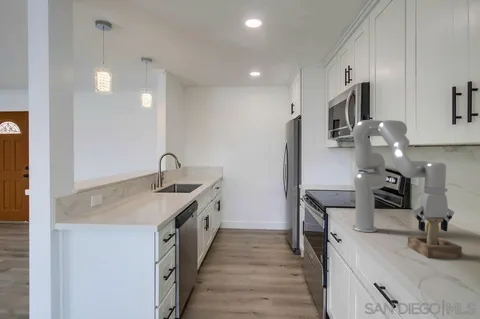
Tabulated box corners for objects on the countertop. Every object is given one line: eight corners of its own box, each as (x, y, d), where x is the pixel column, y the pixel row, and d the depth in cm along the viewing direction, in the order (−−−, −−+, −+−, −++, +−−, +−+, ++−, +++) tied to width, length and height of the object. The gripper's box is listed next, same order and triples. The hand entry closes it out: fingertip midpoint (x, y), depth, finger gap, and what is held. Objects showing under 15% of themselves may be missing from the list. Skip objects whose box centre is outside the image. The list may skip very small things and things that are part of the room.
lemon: (436, 237, 149) (436, 221, 149) (424, 235, 153) (424, 219, 153) (440, 235, 152) (441, 220, 152) (428, 233, 157) (429, 218, 156)
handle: (421, 247, 133) (424, 215, 131) (437, 249, 131) (440, 216, 130) (424, 251, 128) (427, 217, 127) (441, 254, 126) (445, 219, 125)
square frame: (407, 246, 135) (407, 236, 135) (438, 246, 136) (438, 236, 135) (427, 257, 121) (428, 247, 121) (461, 257, 122) (461, 246, 121)
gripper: (447, 189, 131) (446, 228, 132) (409, 189, 131) (407, 227, 132) (460, 192, 124) (458, 233, 125) (420, 192, 124) (418, 233, 125)
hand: (432, 230), depth 128 cm, fingers open, 9 cm apart
